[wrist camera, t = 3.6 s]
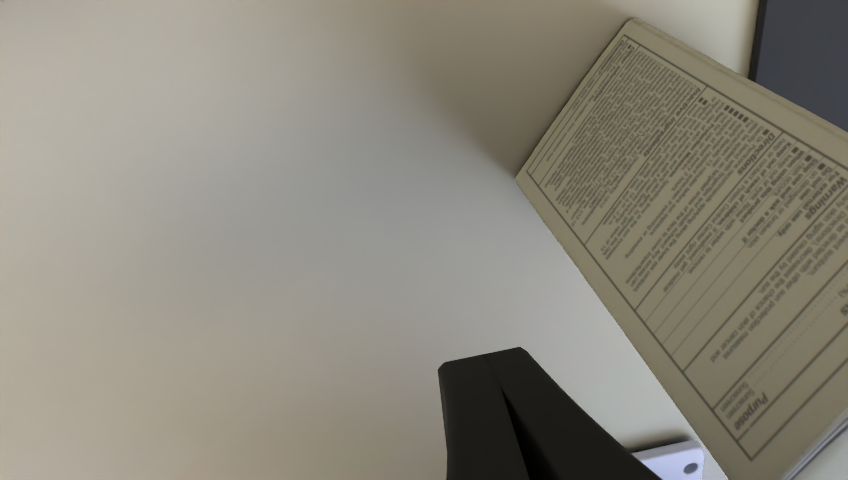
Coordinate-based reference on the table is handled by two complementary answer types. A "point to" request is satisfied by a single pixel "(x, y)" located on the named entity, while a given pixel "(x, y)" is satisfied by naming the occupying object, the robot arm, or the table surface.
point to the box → (711, 246)
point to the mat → (804, 55)
